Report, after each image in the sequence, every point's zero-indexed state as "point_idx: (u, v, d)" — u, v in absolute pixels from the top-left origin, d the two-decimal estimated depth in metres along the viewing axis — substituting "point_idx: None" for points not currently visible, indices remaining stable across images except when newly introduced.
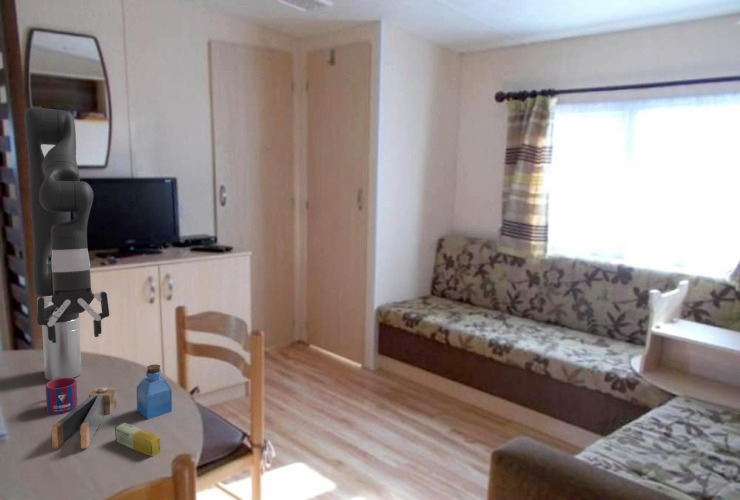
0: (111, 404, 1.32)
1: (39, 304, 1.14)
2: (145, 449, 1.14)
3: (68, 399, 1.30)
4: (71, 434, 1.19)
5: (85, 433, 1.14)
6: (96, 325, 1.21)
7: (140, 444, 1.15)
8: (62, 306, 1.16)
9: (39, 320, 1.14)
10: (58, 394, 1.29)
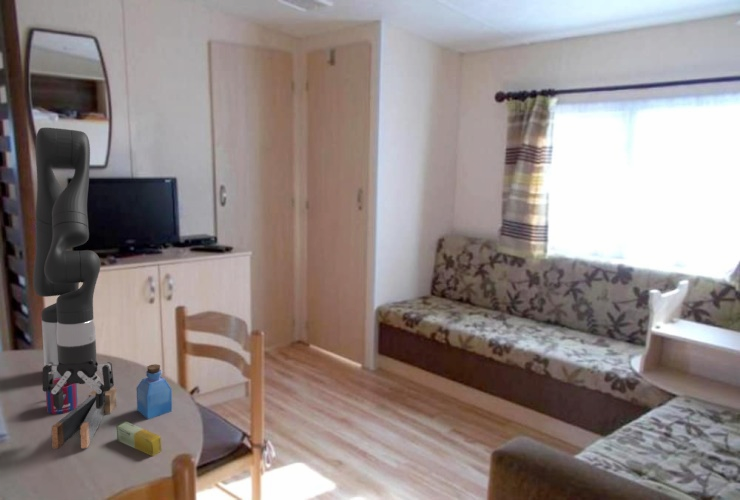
0: (111, 404, 1.32)
1: (44, 372, 1.15)
2: (146, 449, 1.14)
3: (68, 400, 1.30)
4: (71, 434, 1.19)
5: (85, 433, 1.14)
6: (97, 398, 1.17)
7: (141, 443, 1.15)
8: (63, 377, 1.15)
9: (44, 387, 1.15)
10: None
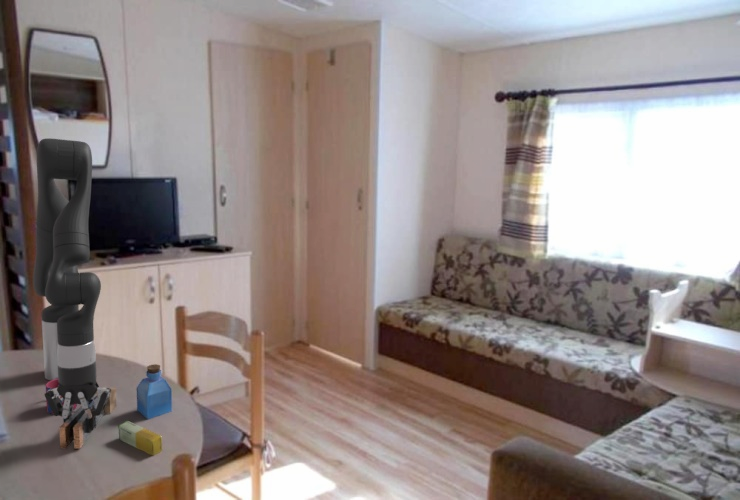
0: (111, 404, 1.32)
1: (47, 398, 1.16)
2: (147, 448, 1.15)
3: None
4: None
5: (78, 433, 1.14)
6: (87, 422, 1.18)
7: (142, 443, 1.15)
8: (66, 399, 1.16)
9: (54, 412, 1.17)
10: None
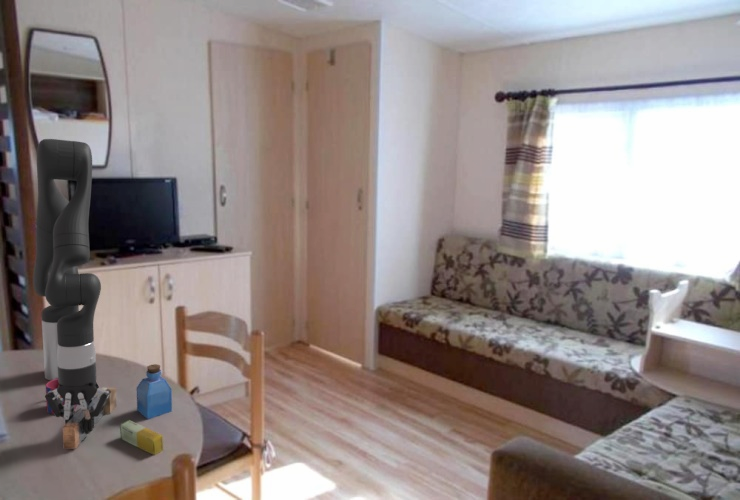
0: (111, 404, 1.32)
1: (48, 400, 1.16)
2: (148, 448, 1.15)
3: None
4: None
5: (73, 434, 1.14)
6: (86, 423, 1.18)
7: (143, 442, 1.16)
8: (66, 400, 1.16)
9: (55, 413, 1.17)
10: None
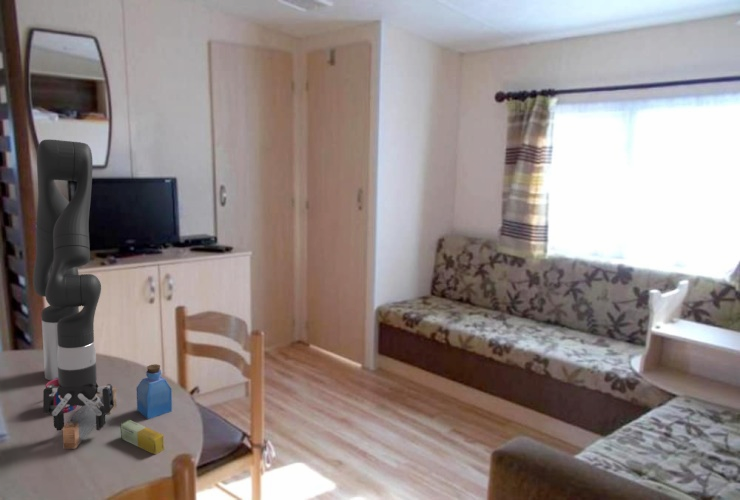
0: None
1: (44, 394, 1.16)
2: (149, 447, 1.15)
3: None
4: None
5: (73, 434, 1.14)
6: (97, 419, 1.18)
7: (144, 442, 1.16)
8: (64, 399, 1.16)
9: (44, 409, 1.17)
10: (58, 394, 1.29)
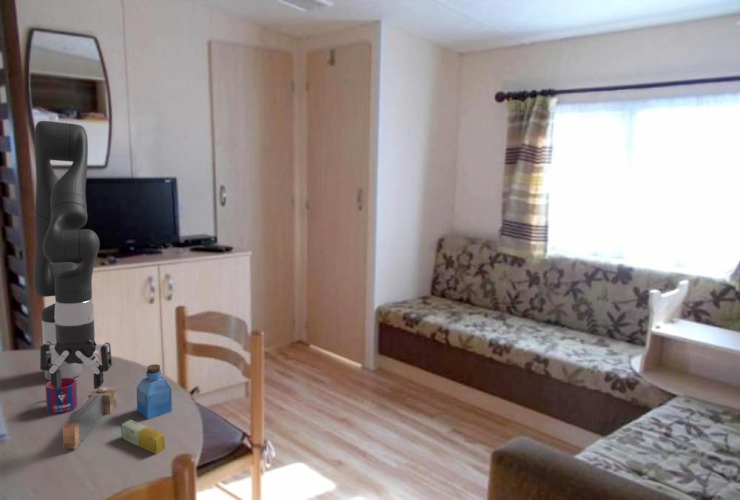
0: (111, 404, 1.32)
1: (42, 351, 1.14)
2: (150, 447, 1.15)
3: (68, 400, 1.30)
4: None
5: (73, 434, 1.14)
6: (95, 378, 1.17)
7: (145, 441, 1.16)
8: (61, 356, 1.14)
9: (41, 366, 1.15)
10: (58, 394, 1.29)
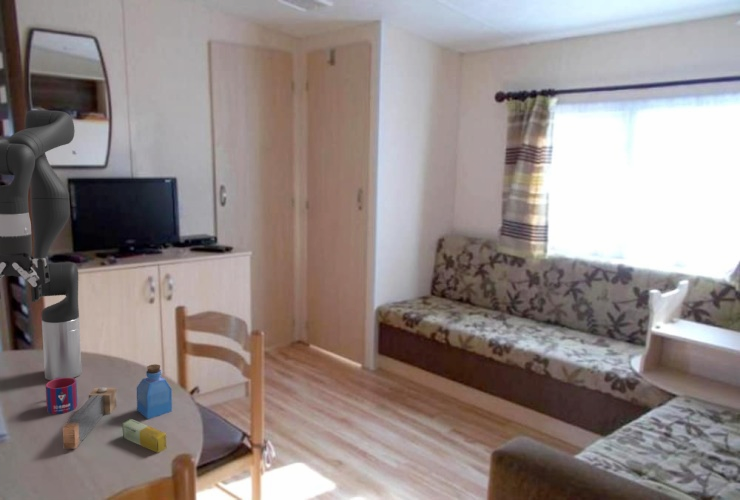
0: (111, 404, 1.32)
1: None
2: (152, 446, 1.16)
3: (68, 400, 1.30)
4: None
5: (73, 434, 1.14)
6: (32, 290, 1.21)
7: (146, 440, 1.16)
8: None
9: None
10: (58, 394, 1.29)
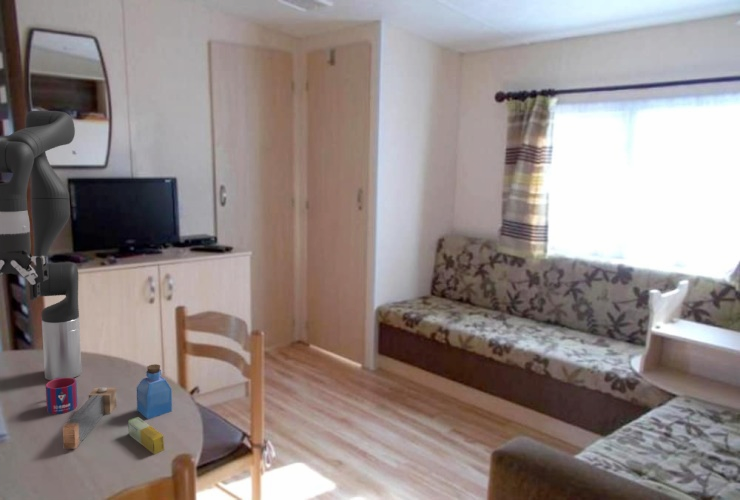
0: (111, 404, 1.32)
1: None
2: (149, 446, 1.15)
3: (68, 400, 1.30)
4: None
5: (73, 434, 1.14)
6: (31, 288, 1.21)
7: (145, 440, 1.16)
8: None
9: None
10: (58, 394, 1.29)
